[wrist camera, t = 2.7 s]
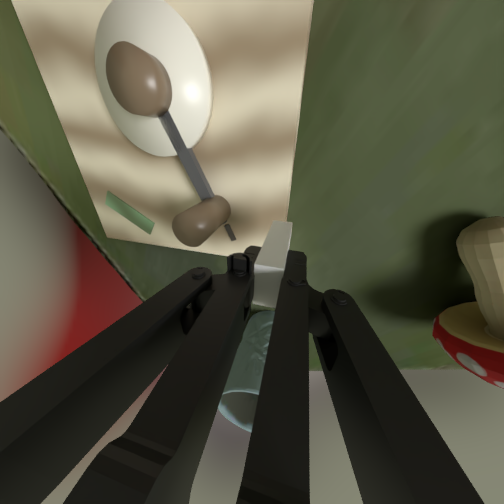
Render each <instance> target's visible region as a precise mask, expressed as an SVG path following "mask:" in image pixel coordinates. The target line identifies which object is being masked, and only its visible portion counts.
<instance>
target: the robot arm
mask: <svg viewBox="0 0 504 504" xmlns="http://www.w3.org/2000/svg"><path fill="white" fill-rule="evenodd" d="M291 230H292V222H283V221H273V223H272V225H271V227H270V230H269V232H268V234H267V236H266V239H265V241H264V243H263V245H262V247H259V246H252V245H251V246H249V247H247V248H246V249H245V251H244V253H233V254H231V255H229V256H228V257H227V266H228V271H227V272H226V274H217V275H212V272H211V270H210V269H208V268H205V267H197V268H193V269H191V270H189V271H188V272H186V273H185V274H183V275H182V276H181V277H179V278H178V279H176V280H175V281H173V282H172V283H171V284H169V285H168V286H166V287H165V288H163V289H162V290H161V291H159V292H158V293H156V294H155V295H153V296H152V297H151V298H149V299H148V300H146V301H145V302H143V303H142V304H141V305H139V306H138V307H136V308H135V309H133V310H132V311H130V312H129V313H128V314H126V315H125V316H123V317H122V318H120V319H119V320H118V321H116V322H115V323H113V324H112V325H110V326H109V327H108V328H106V329H105V330H103V331H102V332H100V333H99V334H98V335H96V336H95V337H93V338H92V339H90V340H89V341H88V342H86V343H85V344H83V345H82V346H81V347H79V348H77V349H76V350H75V351H73V352H72V353H70V354H69V355H67V356H66V357H65V358H63V359H62V360H60V361H59V362H57V363H56V364H55V365H53V366H52V367H50V368H49V369H47V370H46V371H45V372H43V373H42V374H40V375H39V376H37V377H36V378H34V379H33V380H32V381H30V382H29V383H27V384H26V385H24V386H23V387H22V388H20V389H19V390H17V391H16V392H14V393H13V394H11V395H10V396H9V397H8V398H6V399H5V400H3V401H1V402H0V504H41V502H42V501H43V500H44V499H45V498H46V497H47V496H48V495H49V494H50V493H51V492H52V491H53V490H54V489H55V488H56V487H57V486H58V485H59V484H60V483H61V482H62V480H63V479H64V478H65V477H66V476H67V475H68V474H69V473H70V471H71V470H72V469H73V468H74V467H75V466H76V465H77V464H78V463H79V462H80V461H81V460H82V458H83V457H84V456H85V455H86V454H87V453H88V452H89V451H90V450H91V449H92V447H93V446H94V445H95V444H96V443H97V442H98V441H99V440H100V439H101V438H102V436H103V435H104V434H105V433H106V432H107V431H108V430H109V429H110V428H111V427H112V425H113V424H114V423H115V422H116V421H117V420H118V419H119V418H120V417H121V416H122V415H123V413H124V412H125V411H126V410H127V409H128V408H129V407H130V406H131V405H132V403H133V402H134V401H135V400H136V399H137V398H138V397H139V396H140V395H141V394H142V393H143V391H144V390H145V389H146V388H147V387H148V386H149V385H150V384H151V383H152V382H153V380H154V379H155V378H156V377H157V376H158V375H159V374H160V373H161V372H162V371H163V369H164V368H165V367H166V366H167V365H168V366H167V368H166V369H165V371H164V372H163V374H162V376H161V377H160V379H159V380H158V382H157V384H156V385H155V387H154V388H153V390H152V392H151V393H150V395H149V396H148V398H147V400H146V401H145V403H144V404H143V406H142V407H141V409H140V411H139V412H138V414H137V415H136V417H135V419H134V420H133V422H132V423H131V425H130V426H129V428H128V429H127V430H126V432H125V433H124V434H123V435H122V436H120V437H119V438H117V439H115V440H113V441H112V442H110V443H108V444H107V445H106V446H105V447H104V448H103V449H102V450H101V451H100V452H99V453H98V454H97V456H96V457H95V458H94V460H93V461H92V462H91V463H90V465H89V466H88V467H87V469H86V471H85V472H84V473H83V475H82V476H81V478H80V479H79V481H78V482H77V484H76V485H75V487H74V488H73V489H72V491H71V493H70V494H69V495H68V497H67V498H66V500H65V501H64V503H63V504H189V499H190V492H191V488H192V484H193V480H194V477H195V474H196V471H197V468H198V465H199V462H200V459H201V456H202V453H203V450H204V447H205V444H206V442H207V438H208V436H209V433H210V429H211V427H212V424H213V421H214V417H215V415H216V412H217V409H218V406H219V403H220V400H221V397H222V394H223V391H224V388H225V385H226V382H227V379H228V376H229V373H230V370H231V367H232V364H233V361H234V358H235V355H236V352H237V349H238V346H239V344H240V341H241V338H242V335H243V332H244V329H245V326H246V323H247V320H248V317H249V314H250V311H251V302H252V299H253V304H257V305H262V306H267V307H272V308H276V309H275V314H274V319H273V324H272V329H271V334H270V340H269V345H268V350H267V355H266V360H265V365H264V370H263V375H262V380H261V386H260V391H259V396H258V401H257V406H256V411H255V416H254V421H253V426H252V432H251V437H250V442H249V447H248V452H247V457H246V462H245V467H244V473H243V477H242V482H241V486H240V490H239V493H238V498H237V502H236V504H310V492H309V491H310V489H309V332H310V333H312V334H313V339H314V342H315V346H316V349H317V352H318V356H319V359H320V362H321V366H322V369H323V372H324V375H325V379H326V382H327V385H328V389H329V392H330V395H331V398H332V402H333V405H334V408H335V412H336V415H337V418H338V422H339V425H340V428H341V431H342V435H343V438H344V441H345V445H346V448H347V451H348V454H349V458H350V461H351V464H352V468H353V471H354V474H355V478H356V480H357V484H358V487H359V491H360V494H361V497H362V501H363V504H484V502H483V501H482V499H481V498H480V496H479V495H478V493H477V491H476V490H475V488H474V487H473V485H472V483H471V482H470V480H469V479H468V477H467V476H466V474H465V473H464V471H463V469H462V468H461V467H460V465H459V463H458V462H457V460H456V459H455V457H454V455H453V454H452V452H451V451H450V449H449V448H448V446H447V444H446V443H445V441H444V440H443V438H442V437H441V435H440V434H439V432H438V430H437V429H436V427H435V426H434V424H433V423H432V421H431V419H430V418H429V416H428V415H427V413H426V412H425V410H424V409H423V407H422V405H421V404H420V403H419V401H418V399H417V398H416V396H415V394H414V393H413V391H412V390H411V388H410V387H409V385H408V384H407V382H406V381H405V379H404V377H403V376H402V374H401V373H400V371H399V369H398V368H397V366H396V365H395V363H394V362H393V360H392V358H391V357H390V355H389V354H388V352H387V351H386V349H385V348H384V346H383V344H382V343H381V341H380V340H379V338H378V337H377V335H376V333H375V332H374V330H373V329H372V327H371V326H370V324H369V323H368V321H367V319H366V318H365V316H364V315H363V313H362V312H361V310H360V308H359V307H358V305H357V304H356V302H355V301H354V299H353V298H352V297H351V296H350V295H349V294H347V293H345V292H343V291H341V290H336V289H330V290H327V291H325V292H324V293H321V292H319V291H317V290H314V289H313V288H312V287H310V286H309V285H308V282H307V280H306V261H307V257H306V255H305V254H304V252H299V251H292V250H289V245H290V237H291ZM190 303H191V304H190ZM189 304H190V305H189ZM188 305H189V306H188Z"/></svg>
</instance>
